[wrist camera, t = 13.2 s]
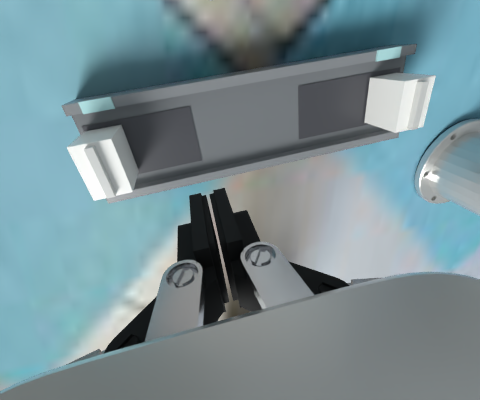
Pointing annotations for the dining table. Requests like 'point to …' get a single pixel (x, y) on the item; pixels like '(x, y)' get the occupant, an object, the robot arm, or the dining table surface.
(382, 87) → the tab
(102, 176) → the tab
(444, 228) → the dining table surface
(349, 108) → the switch board
